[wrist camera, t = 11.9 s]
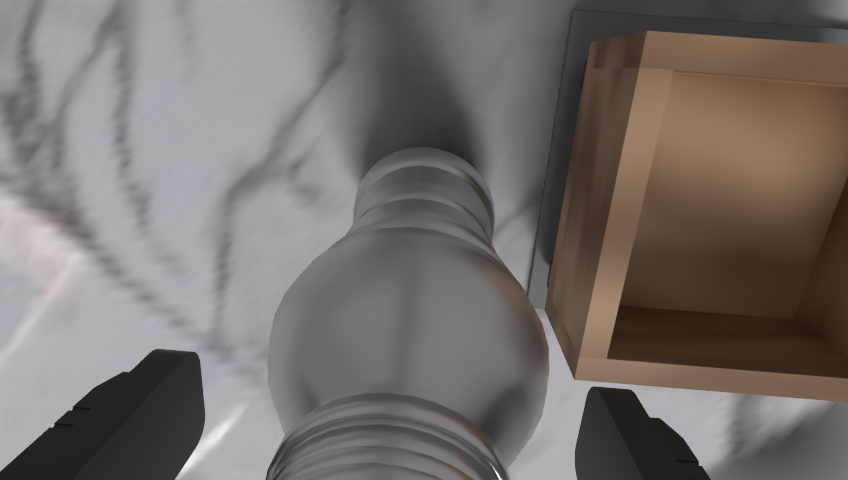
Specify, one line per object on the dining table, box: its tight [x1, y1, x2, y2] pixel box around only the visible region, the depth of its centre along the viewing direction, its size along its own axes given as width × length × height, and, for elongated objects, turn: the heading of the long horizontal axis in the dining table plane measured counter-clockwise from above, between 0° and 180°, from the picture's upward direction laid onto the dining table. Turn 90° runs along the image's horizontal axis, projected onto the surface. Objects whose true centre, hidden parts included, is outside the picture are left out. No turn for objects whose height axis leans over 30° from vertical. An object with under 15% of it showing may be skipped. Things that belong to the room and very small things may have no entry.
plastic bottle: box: [266, 147, 549, 480], centre depth 15 cm, size 6×7×20 cm
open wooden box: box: [545, 31, 848, 402], centre depth 20 cm, size 12×12×8 cm
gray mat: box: [527, 10, 848, 309], centre depth 24 cm, size 15×18×1 cm
